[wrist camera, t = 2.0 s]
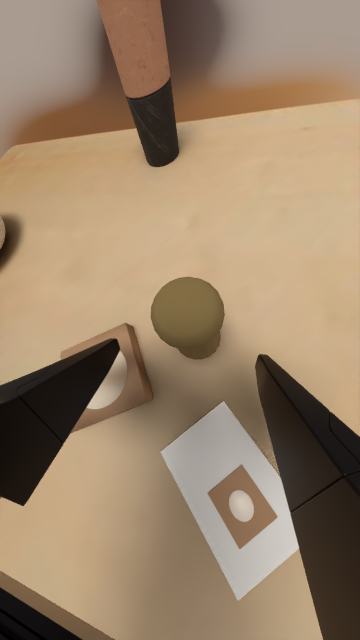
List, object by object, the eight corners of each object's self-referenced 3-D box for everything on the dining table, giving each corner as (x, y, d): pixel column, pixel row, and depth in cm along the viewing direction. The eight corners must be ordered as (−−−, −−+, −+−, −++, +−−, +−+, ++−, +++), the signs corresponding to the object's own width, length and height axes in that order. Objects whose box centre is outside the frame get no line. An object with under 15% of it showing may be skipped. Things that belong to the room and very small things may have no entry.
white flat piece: (318, 528, 13) (321, 532, 12) (237, 597, 12) (238, 604, 12) (223, 400, 17) (223, 401, 16) (160, 451, 16) (159, 453, 16)
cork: (167, 327, 20) (124, 291, 10) (204, 306, 20) (200, 246, 10) (187, 368, 18) (161, 374, 8) (229, 344, 18) (257, 320, 8)
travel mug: (165, 171, 30) (91, -152, 11) (139, 163, 32) (43, -114, 14) (187, 147, 31) (154, -190, 12) (160, 141, 33) (98, -148, 15)
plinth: (153, 397, 18) (146, 402, 16) (82, 426, 19) (68, 434, 17) (132, 326, 21) (125, 322, 20) (73, 353, 22) (59, 352, 20)
